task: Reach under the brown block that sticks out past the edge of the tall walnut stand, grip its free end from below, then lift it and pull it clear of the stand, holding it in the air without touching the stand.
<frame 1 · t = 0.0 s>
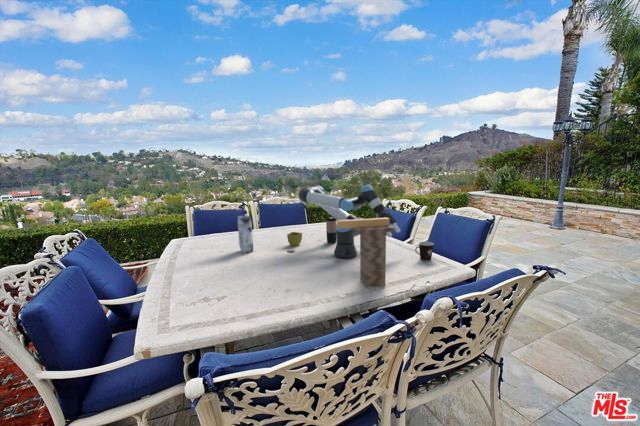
hand: (395, 234, 181), 15 cm above the table, tool tilted 35°, fingers open, 13 cm apart
flower pot: (295, 245, 218), on the table
walnut stand: (372, 282, 147), on the table
juice carton: (246, 251, 206), on the table
travel mug: (331, 242, 221), on the table
brown block: (363, 226, 141), point 30 cm above the table, touching walnut stand
coffee mug: (423, 259, 180), on the table
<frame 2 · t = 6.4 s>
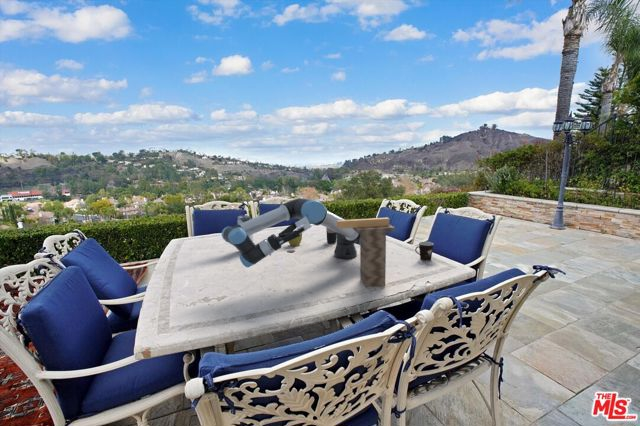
hand: (308, 221, 137), 34 cm above the table, tool pointing upward, fingers open, 13 cm apart
nothing on the table moved.
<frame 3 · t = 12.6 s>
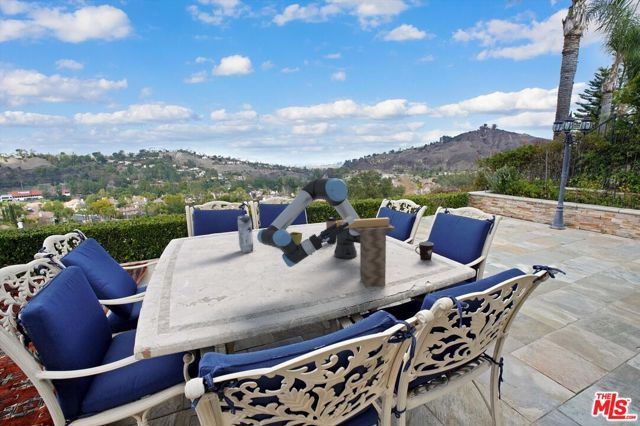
hand: (352, 218, 140), 34 cm above the table, tool pointing upward, fingers closed on brown block, 3 cm apart
brown block: (363, 226, 141), point 30 cm above the table, touching gripper
everything else where it was.
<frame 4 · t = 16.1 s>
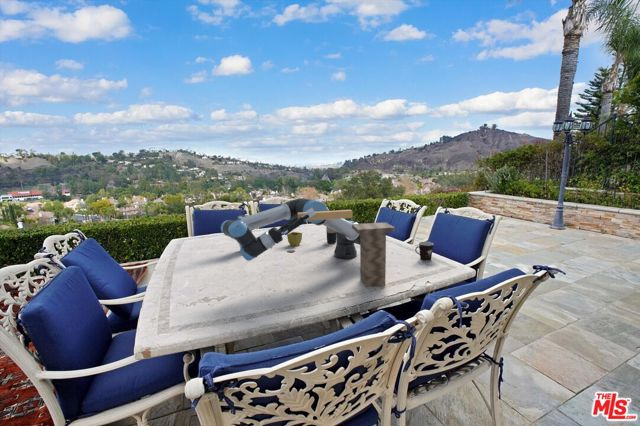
hand: (313, 210, 135), 39 cm above the table, tool pointing upward, fingers closed on brown block, 3 cm apart
brown block: (325, 218, 136), point 35 cm above the table, touching gripper
everything else where it was.
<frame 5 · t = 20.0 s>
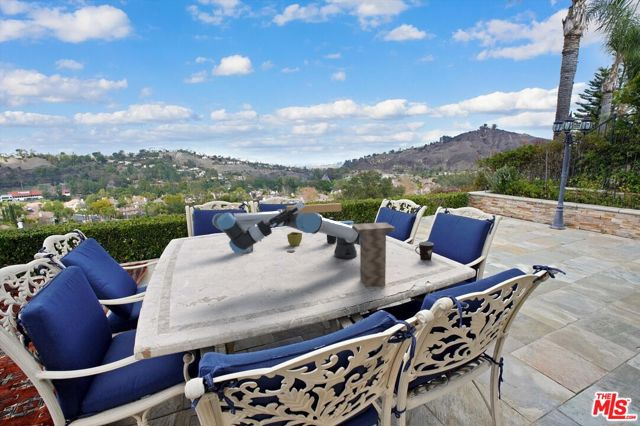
hand: (302, 203, 135), 43 cm above the table, tool pointing upward, fingers closed on brown block, 3 cm apart
brown block: (314, 212, 136), point 38 cm above the table, touching gripper
everything else where it was.
at the end: the gripper is holding brown block; brown block touching gripper; brown block moved 25.5 cm from its start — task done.
